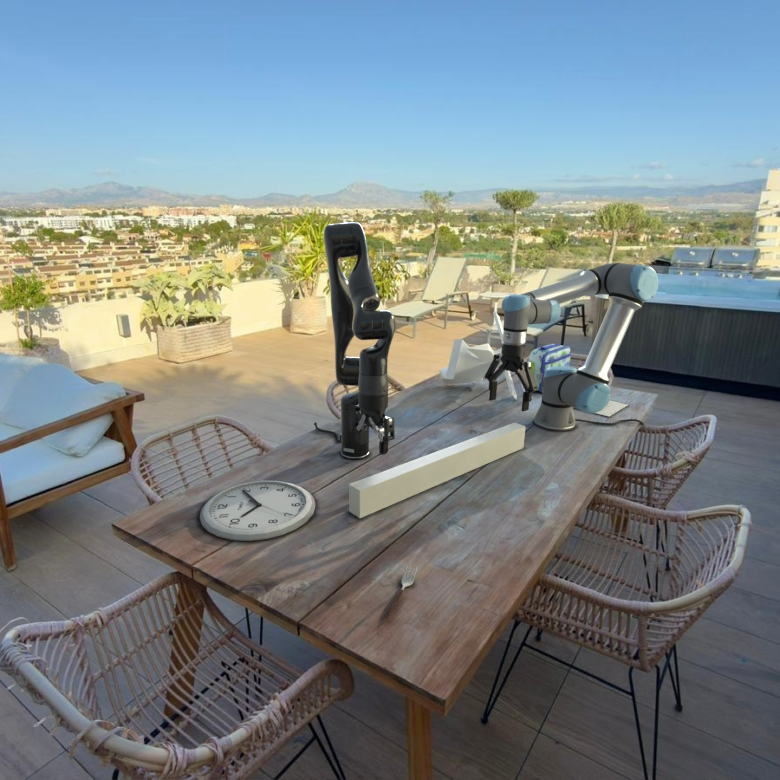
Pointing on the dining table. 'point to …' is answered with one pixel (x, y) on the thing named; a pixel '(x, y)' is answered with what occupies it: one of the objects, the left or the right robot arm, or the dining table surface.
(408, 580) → the fork
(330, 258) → the left robot arm
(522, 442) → the post
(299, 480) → the dining table surface
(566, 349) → the lunch box
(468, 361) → the white plastic object
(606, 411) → the invitation card
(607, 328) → the right robot arm
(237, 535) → the wall clock
